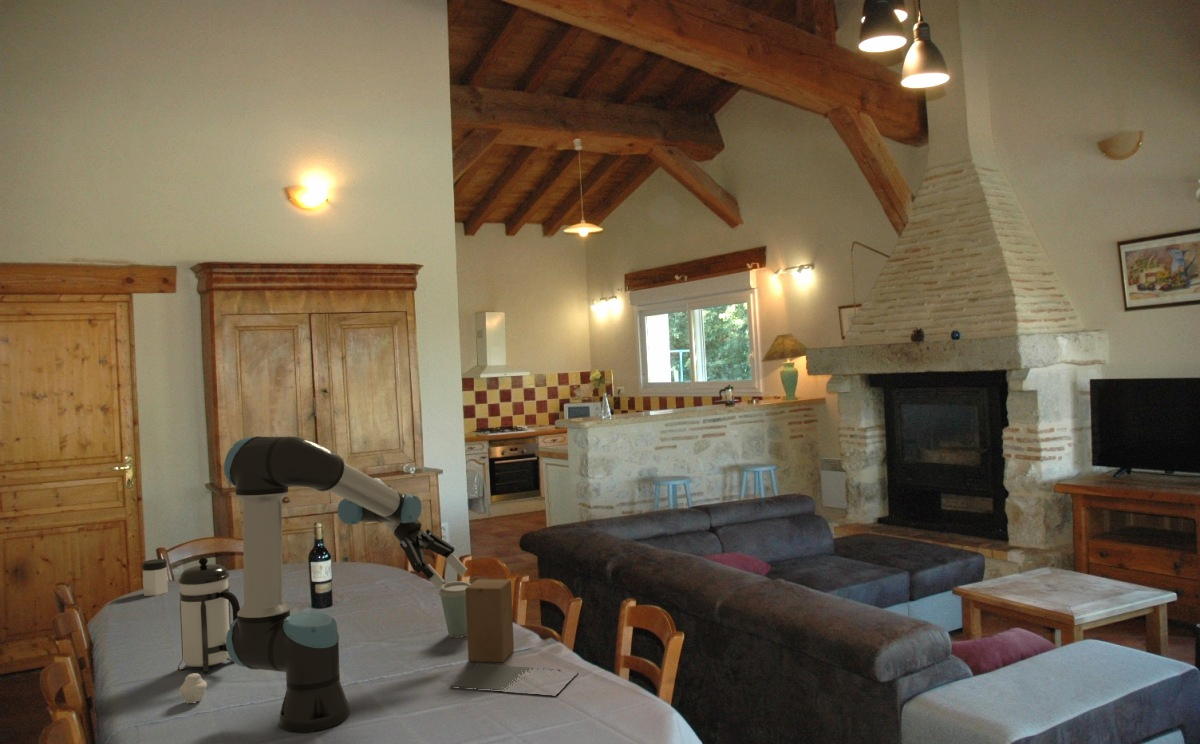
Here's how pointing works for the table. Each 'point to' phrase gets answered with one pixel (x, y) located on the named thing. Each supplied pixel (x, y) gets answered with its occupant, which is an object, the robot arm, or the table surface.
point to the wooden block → (489, 620)
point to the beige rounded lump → (193, 688)
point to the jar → (154, 577)
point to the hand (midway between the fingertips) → (453, 578)
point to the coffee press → (205, 614)
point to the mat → (490, 677)
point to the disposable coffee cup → (455, 607)
